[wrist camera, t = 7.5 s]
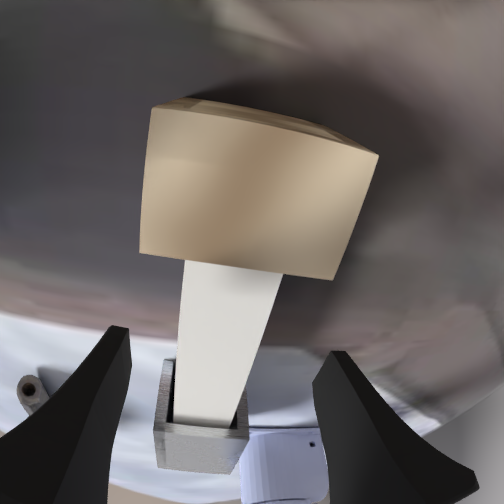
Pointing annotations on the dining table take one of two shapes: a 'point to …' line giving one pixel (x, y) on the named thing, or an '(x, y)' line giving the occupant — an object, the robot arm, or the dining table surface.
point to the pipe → (31, 393)
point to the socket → (250, 188)
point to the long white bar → (218, 339)
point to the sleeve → (196, 436)
